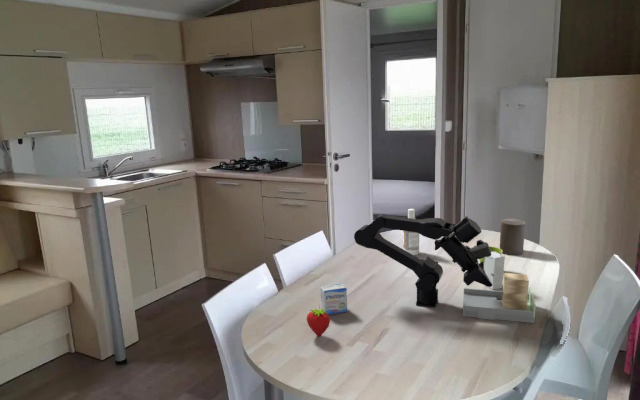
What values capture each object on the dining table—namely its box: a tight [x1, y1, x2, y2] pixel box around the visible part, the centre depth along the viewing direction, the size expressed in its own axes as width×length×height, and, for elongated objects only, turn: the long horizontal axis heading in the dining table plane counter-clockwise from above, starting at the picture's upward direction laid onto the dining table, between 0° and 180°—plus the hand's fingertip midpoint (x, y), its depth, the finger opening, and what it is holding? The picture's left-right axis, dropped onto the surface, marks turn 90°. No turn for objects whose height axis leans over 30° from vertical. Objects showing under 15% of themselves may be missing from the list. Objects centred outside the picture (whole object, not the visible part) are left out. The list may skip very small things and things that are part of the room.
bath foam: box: [402, 208, 420, 256], centre depth 210 cm, size 7×7×20 cm
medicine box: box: [320, 283, 348, 316], centre depth 159 cm, size 8×4×9 cm, turn 105°
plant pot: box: [479, 245, 503, 266], centre depth 188 cm, size 9×9×9 cm
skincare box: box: [484, 252, 506, 290], centre depth 173 cm, size 6×4×12 cm
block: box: [502, 272, 530, 311], centre depth 153 cm, size 7×5×10 cm
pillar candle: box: [499, 218, 526, 256], centre depth 207 cm, size 10×10×15 cm
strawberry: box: [306, 305, 331, 337], centre depth 143 cm, size 6×8×10 cm
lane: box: [462, 286, 537, 324], centre depth 155 cm, size 21×14×6 cm, turn 73°
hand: (491, 285), depth 155 cm, fingers closed
